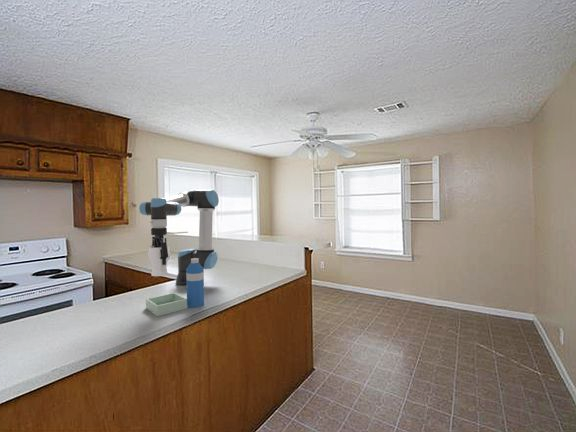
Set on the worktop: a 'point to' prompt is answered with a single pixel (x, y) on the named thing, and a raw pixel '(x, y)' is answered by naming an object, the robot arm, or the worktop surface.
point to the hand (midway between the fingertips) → (159, 269)
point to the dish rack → (166, 304)
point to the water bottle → (195, 284)
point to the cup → (157, 260)
